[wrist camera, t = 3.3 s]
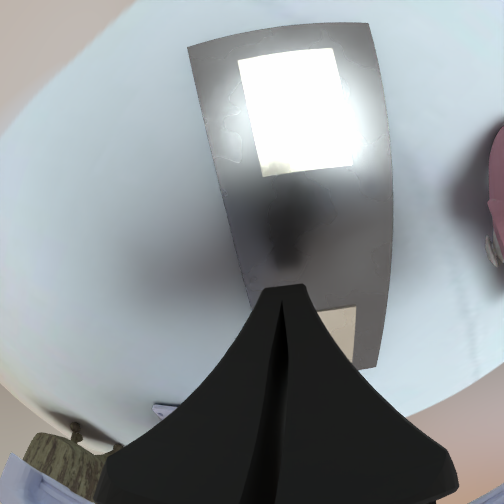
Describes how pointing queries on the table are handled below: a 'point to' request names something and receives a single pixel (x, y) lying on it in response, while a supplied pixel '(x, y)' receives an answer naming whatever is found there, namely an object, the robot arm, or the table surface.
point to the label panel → (305, 168)
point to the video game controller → (496, 199)
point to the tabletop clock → (68, 461)
